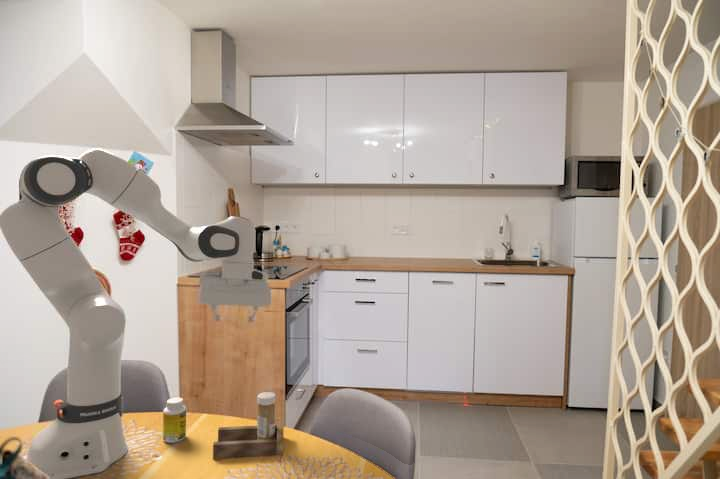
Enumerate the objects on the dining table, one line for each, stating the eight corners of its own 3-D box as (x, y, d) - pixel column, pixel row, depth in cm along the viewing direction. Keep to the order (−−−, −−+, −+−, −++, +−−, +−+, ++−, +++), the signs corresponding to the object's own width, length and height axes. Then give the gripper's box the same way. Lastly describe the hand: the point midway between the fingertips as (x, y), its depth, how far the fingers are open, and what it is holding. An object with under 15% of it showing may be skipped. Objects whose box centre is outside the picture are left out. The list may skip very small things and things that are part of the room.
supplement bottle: (182, 443, 117) (182, 404, 117) (159, 444, 116) (160, 404, 116) (188, 433, 122) (188, 396, 122) (167, 434, 122) (167, 396, 122)
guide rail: (213, 459, 110) (213, 440, 109) (218, 440, 119) (219, 423, 119) (283, 455, 112) (283, 437, 112) (283, 437, 122) (283, 420, 121)
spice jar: (277, 448, 116) (278, 395, 115) (260, 452, 113) (261, 399, 113) (270, 440, 119) (271, 390, 119) (254, 445, 117) (254, 393, 116)
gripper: (197, 271, 127) (193, 321, 126) (272, 274, 130) (269, 323, 128) (202, 272, 133) (198, 319, 132) (273, 275, 136) (270, 322, 135)
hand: (234, 321), depth 130 cm, fingers open, 8 cm apart
